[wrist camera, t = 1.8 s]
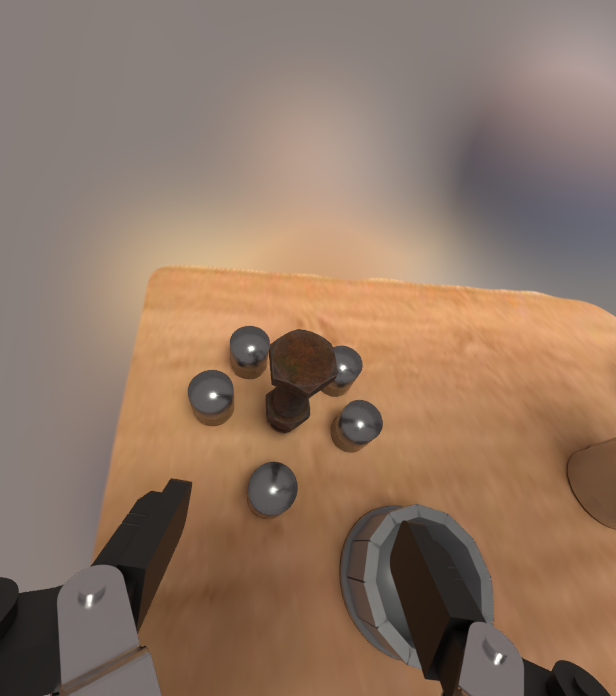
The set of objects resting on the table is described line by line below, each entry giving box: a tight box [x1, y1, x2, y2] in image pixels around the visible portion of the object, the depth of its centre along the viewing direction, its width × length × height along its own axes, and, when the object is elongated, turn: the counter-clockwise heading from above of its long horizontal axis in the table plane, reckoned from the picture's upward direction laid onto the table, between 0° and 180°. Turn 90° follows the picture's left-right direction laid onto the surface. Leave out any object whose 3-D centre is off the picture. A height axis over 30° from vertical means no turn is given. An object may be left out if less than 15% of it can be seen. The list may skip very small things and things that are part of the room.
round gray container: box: [340, 504, 494, 669], centre depth 29 cm, size 12×12×6 cm
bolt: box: [266, 329, 338, 433], centre depth 31 cm, size 6×5×15 cm
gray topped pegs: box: [188, 326, 383, 519], centre depth 36 cm, size 19×19×5 cm
